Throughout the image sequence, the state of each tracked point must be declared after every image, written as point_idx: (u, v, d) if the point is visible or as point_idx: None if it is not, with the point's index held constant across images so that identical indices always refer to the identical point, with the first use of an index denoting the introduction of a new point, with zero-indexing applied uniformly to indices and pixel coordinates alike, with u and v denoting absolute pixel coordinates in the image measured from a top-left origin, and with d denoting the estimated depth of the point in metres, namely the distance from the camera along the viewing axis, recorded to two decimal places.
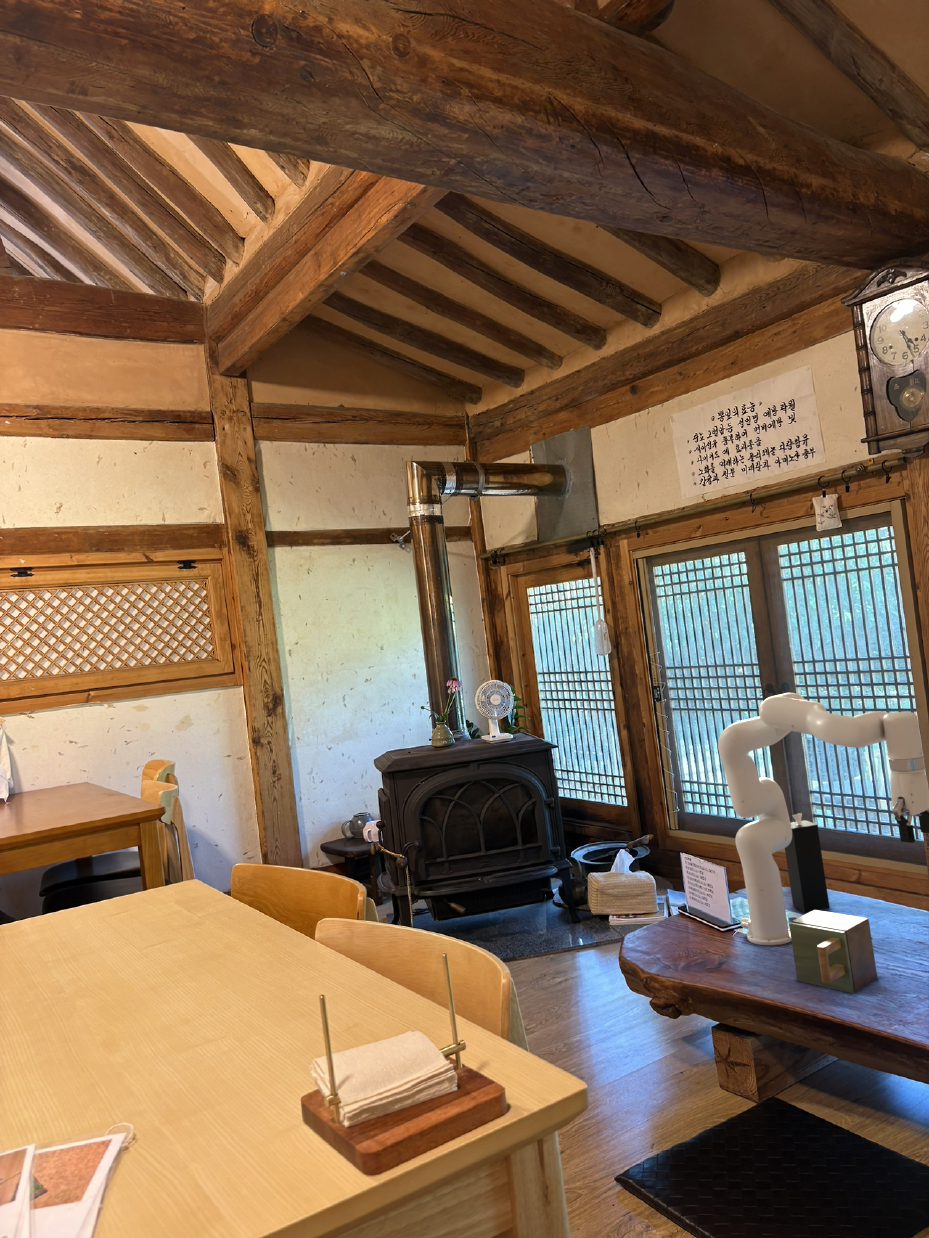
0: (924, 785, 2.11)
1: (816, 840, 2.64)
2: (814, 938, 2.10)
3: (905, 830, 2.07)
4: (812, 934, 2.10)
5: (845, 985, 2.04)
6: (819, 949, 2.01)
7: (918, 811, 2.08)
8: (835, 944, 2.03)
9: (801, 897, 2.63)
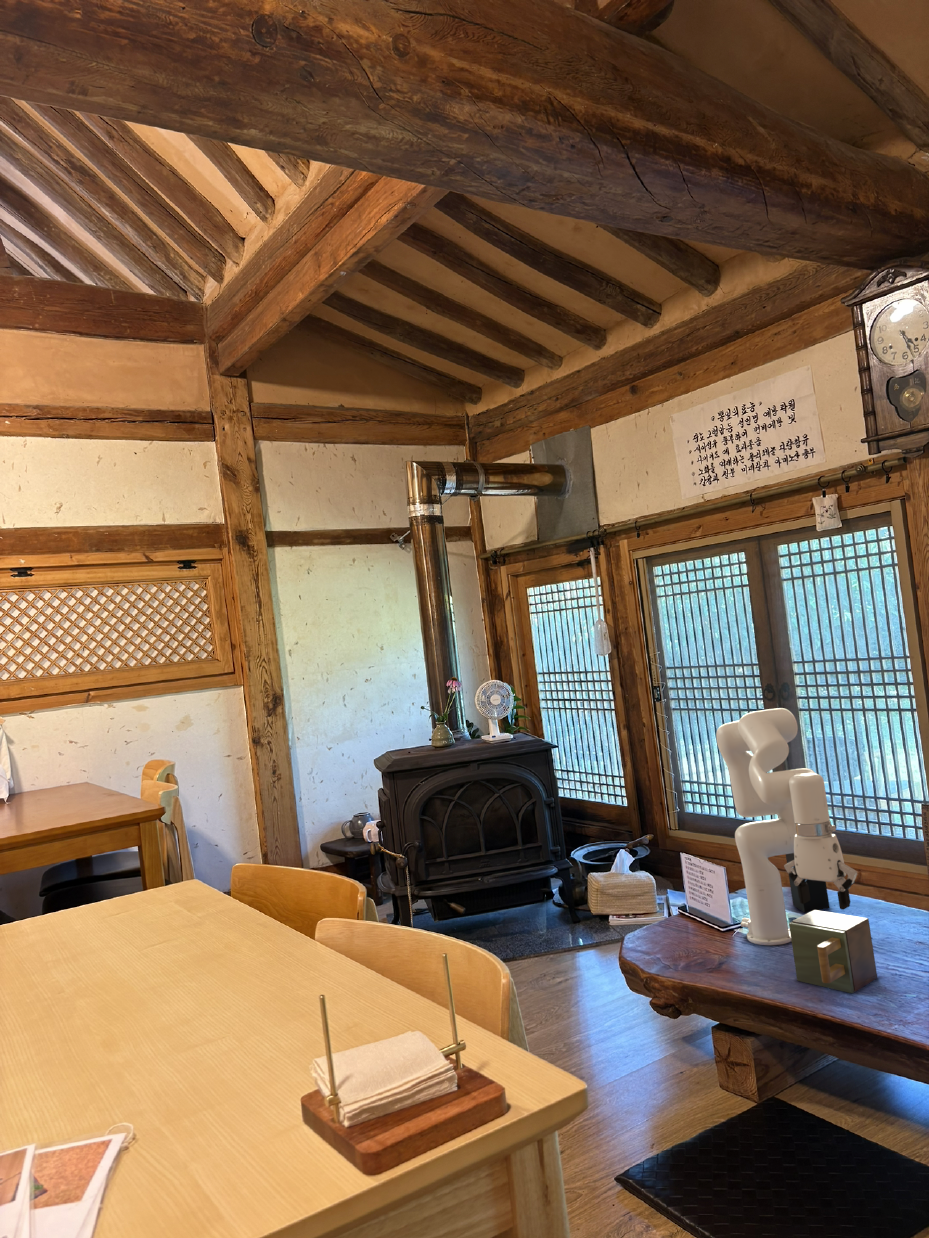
0: (818, 855, 2.00)
1: None
2: (814, 938, 2.10)
3: None
4: (812, 934, 2.10)
5: (845, 985, 2.04)
6: (819, 949, 2.01)
7: (807, 876, 2.03)
8: (835, 944, 2.03)
9: None
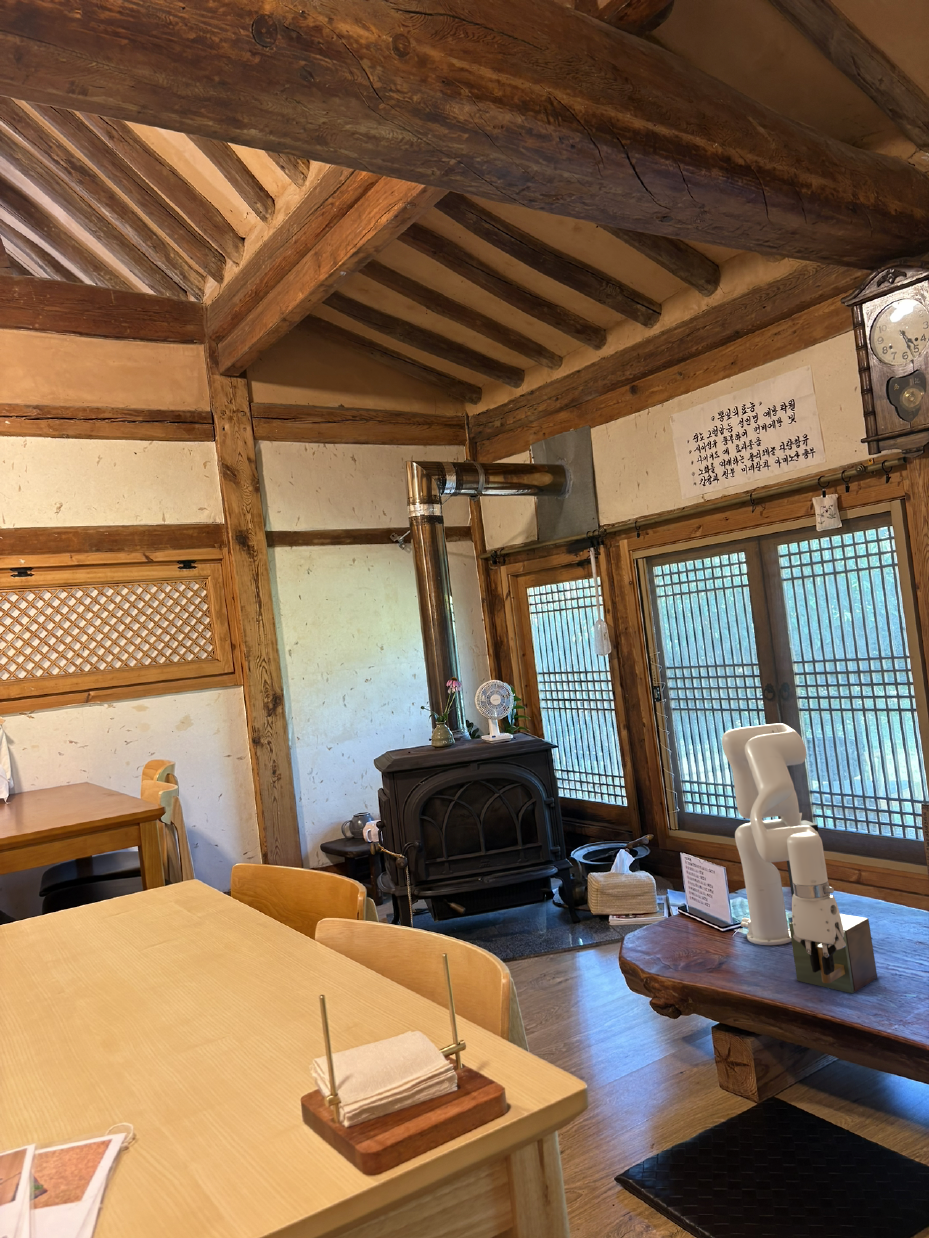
0: (816, 916, 1.99)
1: None
2: None
3: None
4: None
5: (845, 985, 2.04)
6: (819, 949, 2.01)
7: (804, 937, 2.02)
8: None
9: None
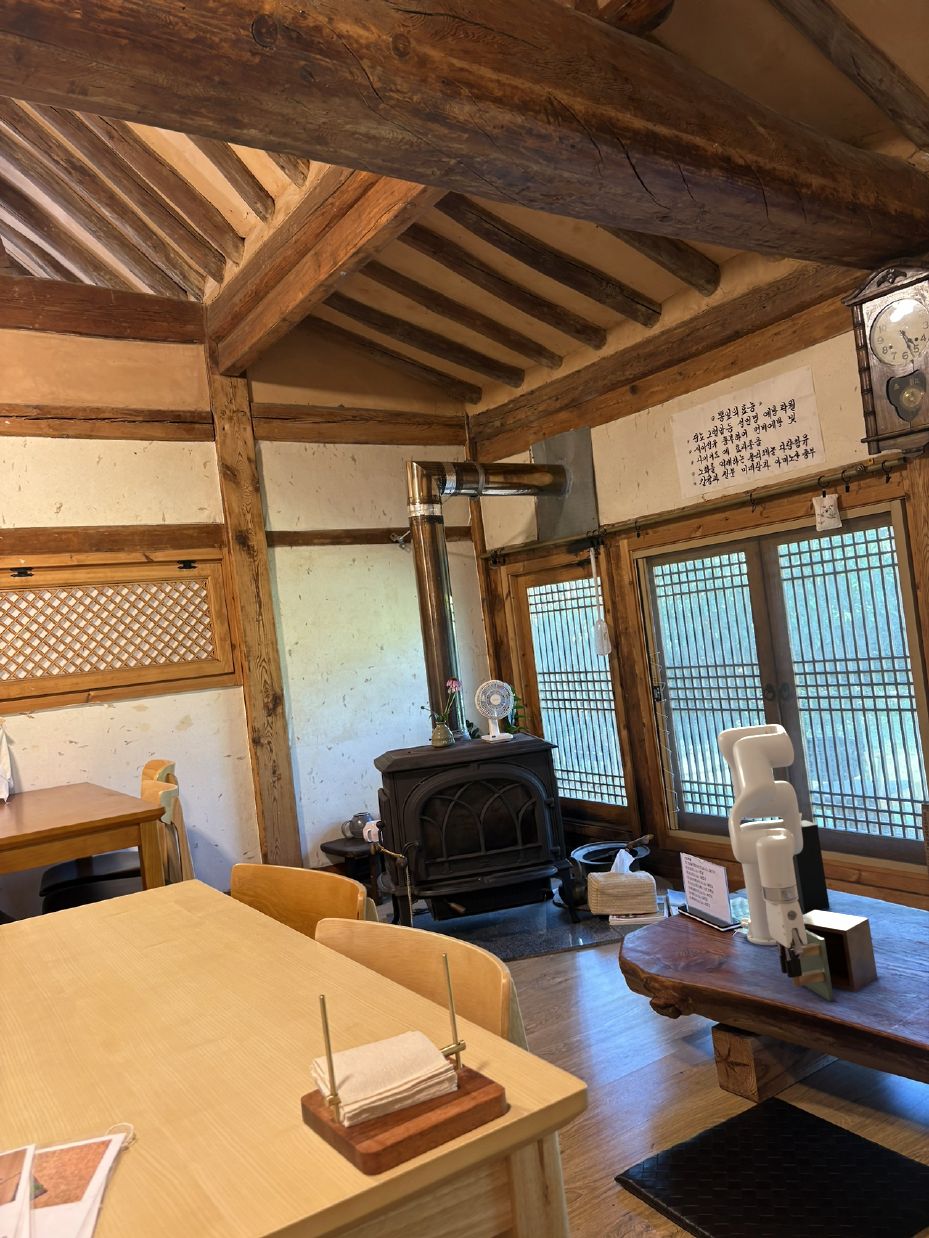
0: (776, 919, 2.00)
1: (816, 840, 2.64)
2: None
3: None
4: None
5: (825, 992, 2.02)
6: None
7: (774, 937, 2.04)
8: (811, 950, 2.02)
9: (801, 897, 2.63)
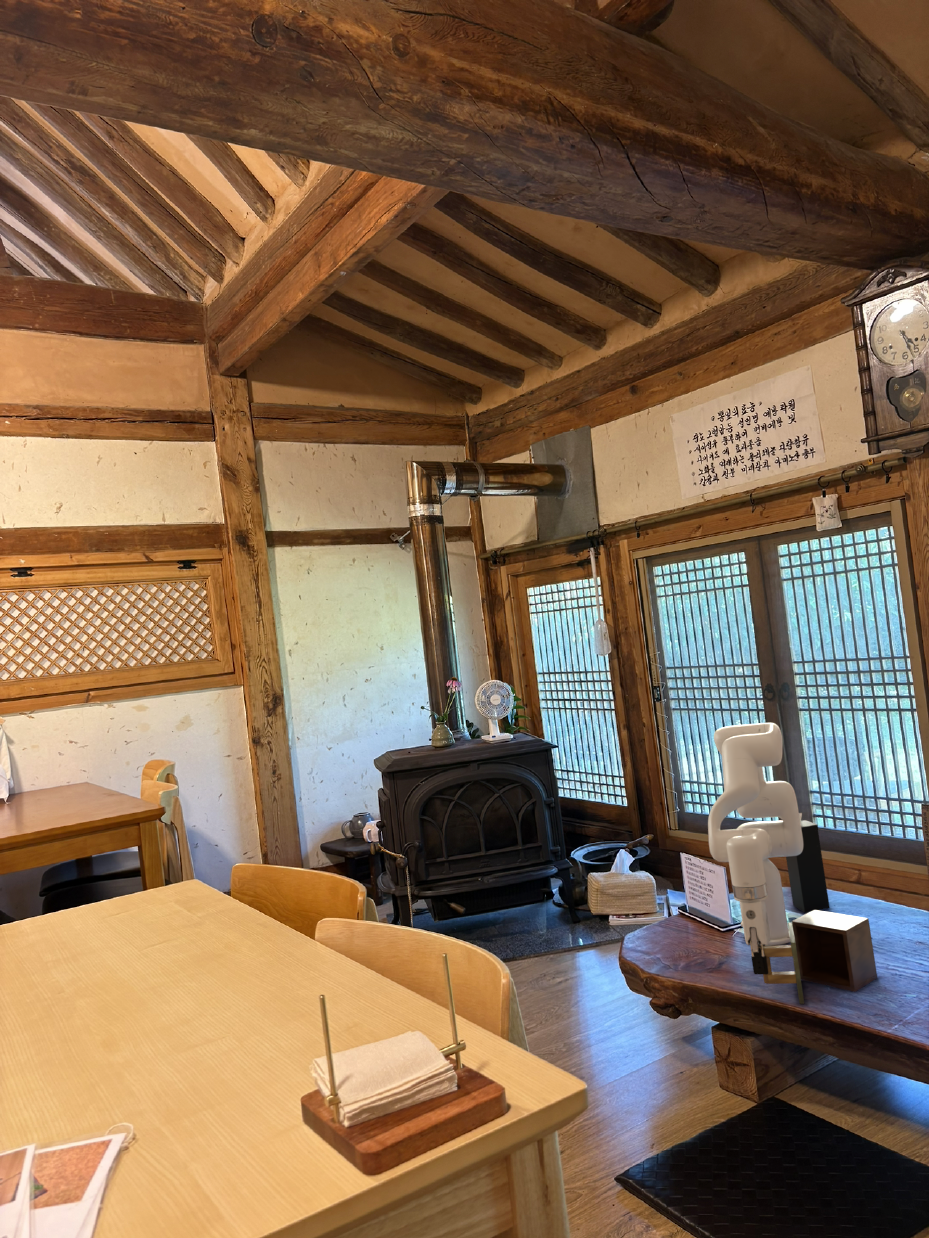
0: None
1: (816, 840, 2.64)
2: None
3: None
4: None
5: None
6: None
7: None
8: (782, 951, 2.03)
9: (801, 897, 2.63)
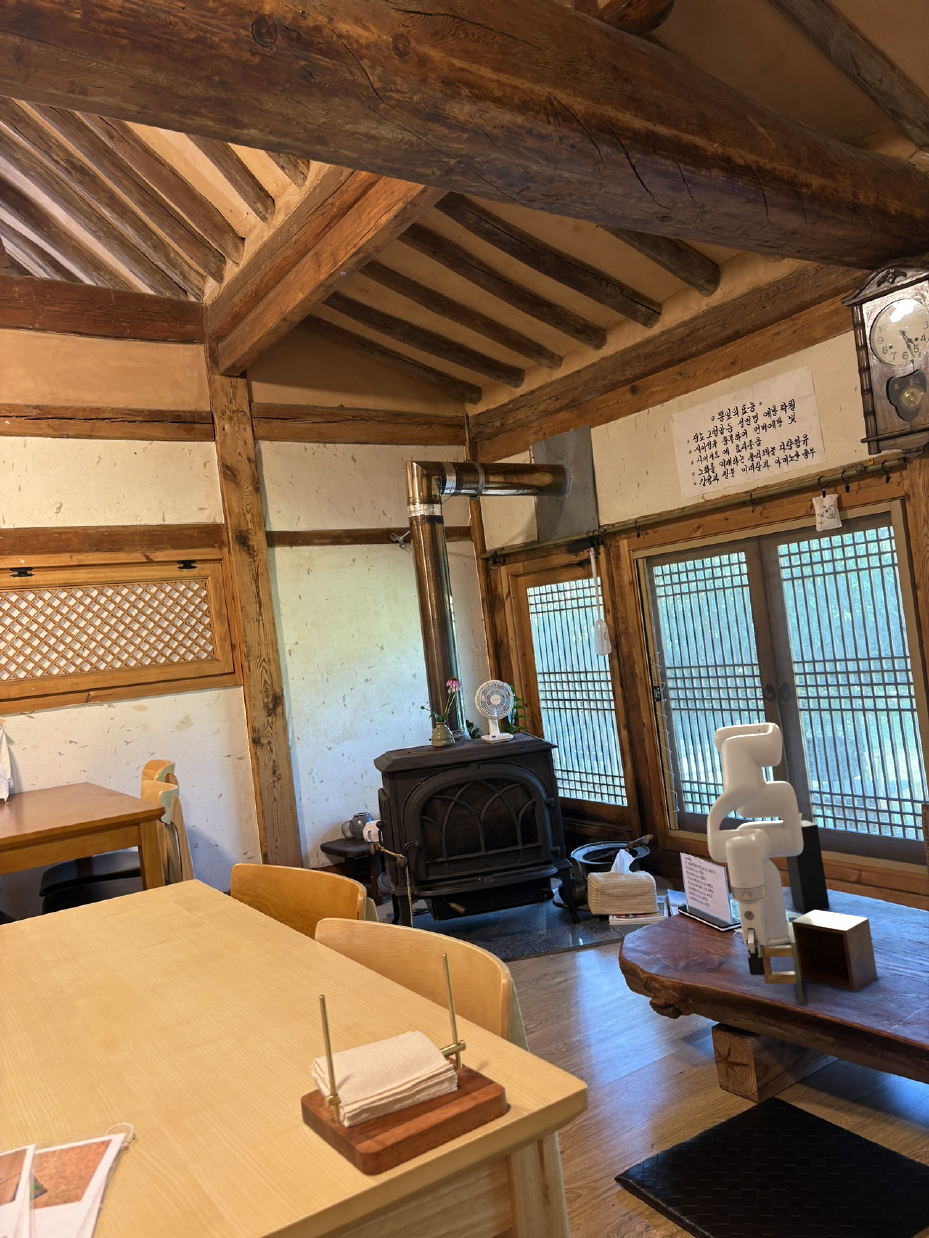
0: None
1: (816, 840, 2.64)
2: None
3: None
4: None
5: None
6: None
7: None
8: (782, 951, 2.03)
9: (801, 897, 2.63)
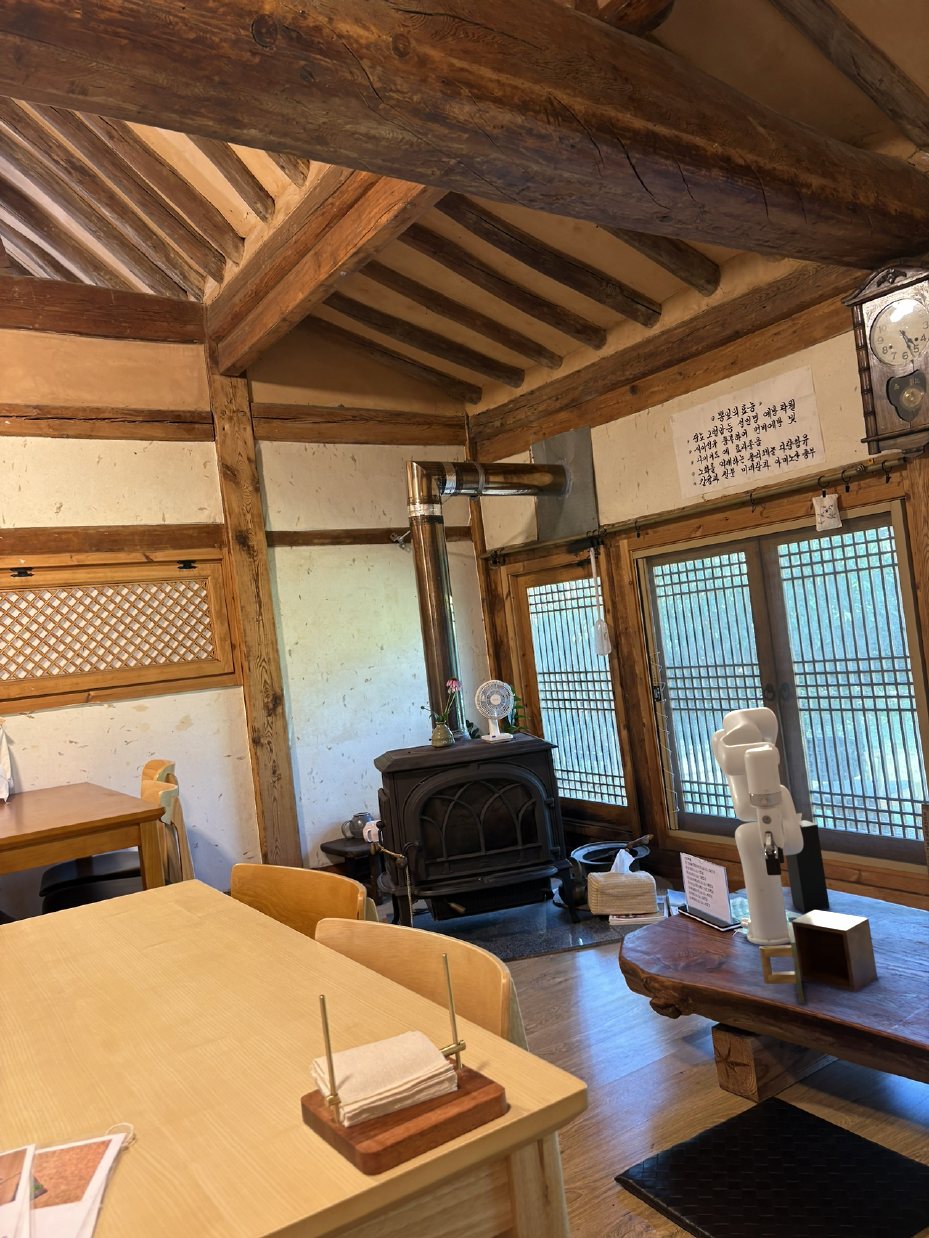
0: None
1: (816, 840, 2.64)
2: None
3: None
4: None
5: None
6: None
7: None
8: (782, 951, 2.03)
9: (801, 897, 2.63)
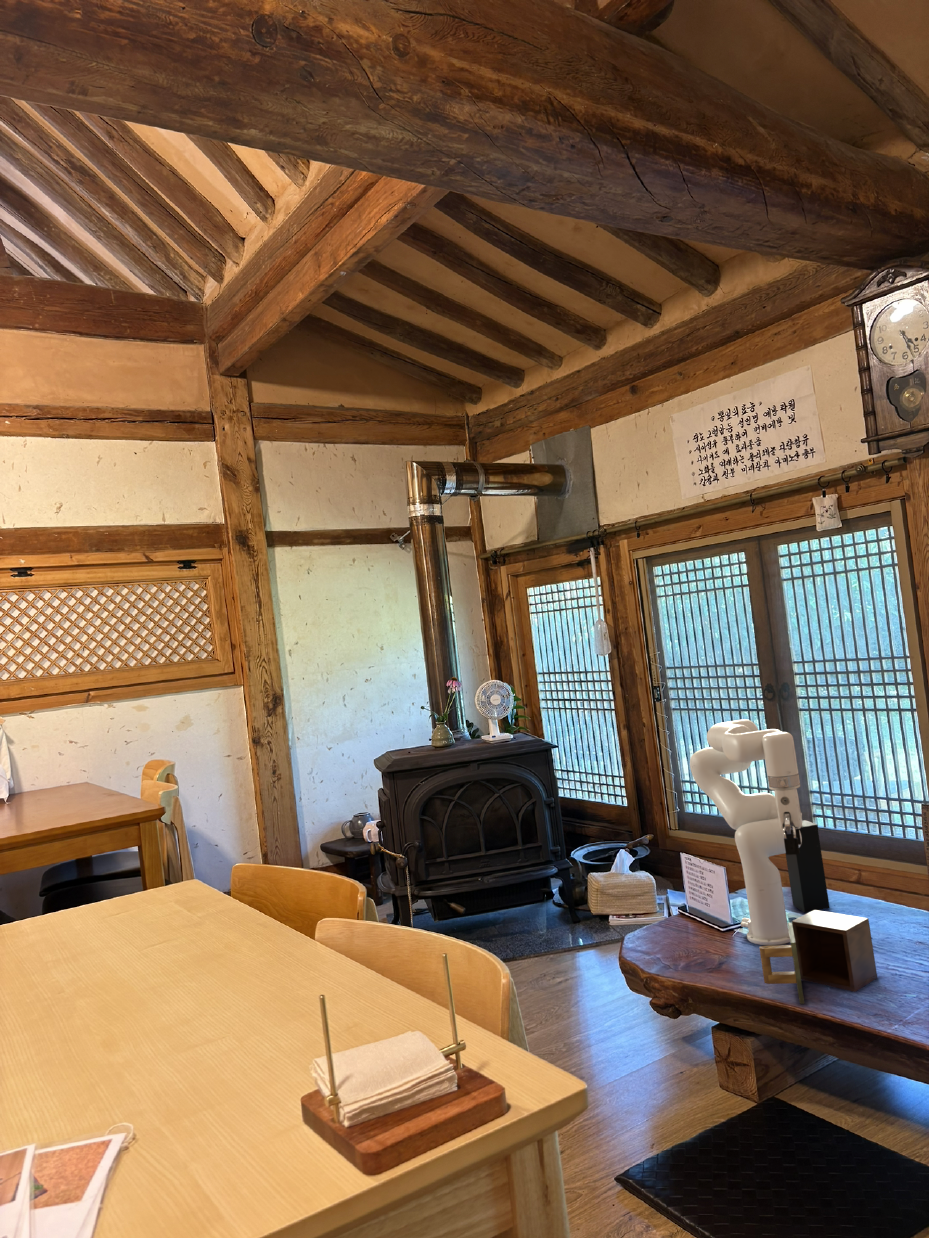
0: None
1: (816, 840, 2.64)
2: None
3: None
4: None
5: None
6: None
7: None
8: (782, 951, 2.03)
9: (801, 897, 2.63)
